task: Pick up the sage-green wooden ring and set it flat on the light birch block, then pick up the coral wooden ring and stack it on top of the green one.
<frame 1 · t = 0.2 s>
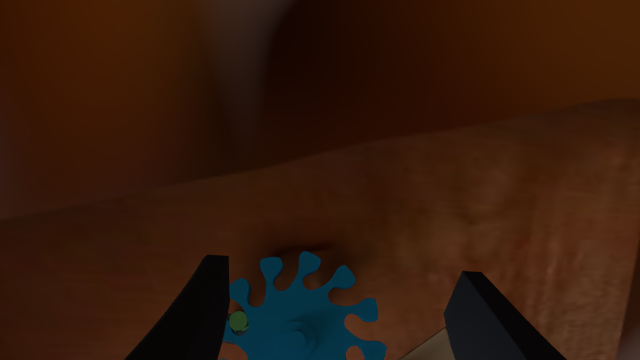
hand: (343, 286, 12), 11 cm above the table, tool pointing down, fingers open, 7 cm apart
gear: (289, 293, 25), on the table
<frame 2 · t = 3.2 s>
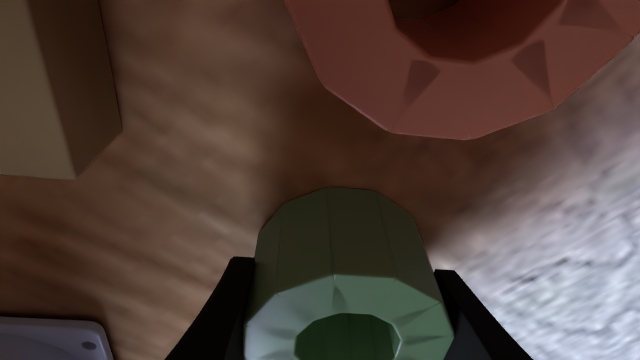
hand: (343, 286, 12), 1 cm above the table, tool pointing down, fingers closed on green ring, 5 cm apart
green ring: (339, 254, 13), on the table, touching gripper
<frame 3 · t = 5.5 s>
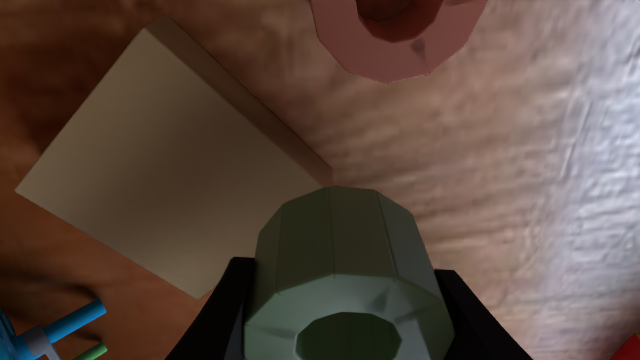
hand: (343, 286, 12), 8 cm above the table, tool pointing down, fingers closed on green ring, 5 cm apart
birch block: (191, 165, 19), on the table
gear: (54, 303, 25), on the table
green ring: (339, 253, 13), point 7 cm above the table, touching gripper
when the fingers open (4 cm above the table, at t = 8.1 s): green ring stays where it is, resting on birch block.
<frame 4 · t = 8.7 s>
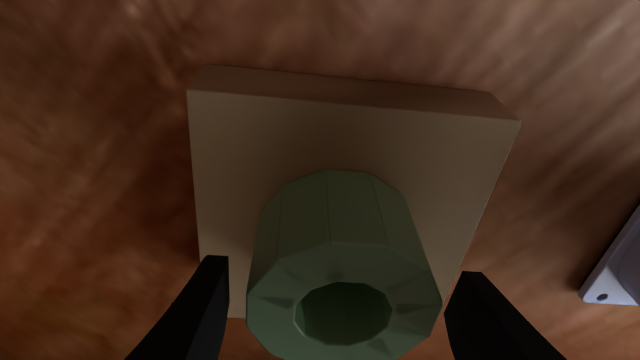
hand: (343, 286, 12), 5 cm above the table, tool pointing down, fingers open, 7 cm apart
birch block: (333, 195, 16), on the table
green ring: (335, 234, 14), point 2 cm above the table, touching birch block
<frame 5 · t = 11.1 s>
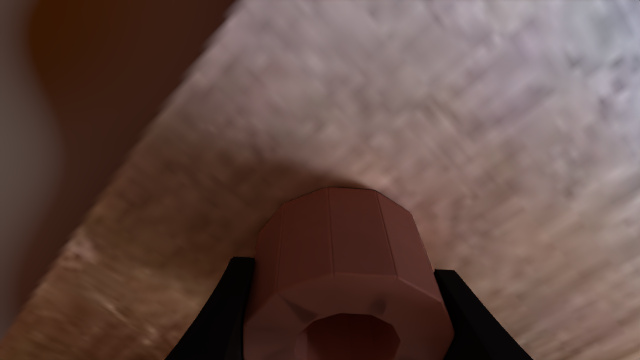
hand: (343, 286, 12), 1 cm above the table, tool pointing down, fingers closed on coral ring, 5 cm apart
coral ring: (339, 254, 13), on the table, touching gripper
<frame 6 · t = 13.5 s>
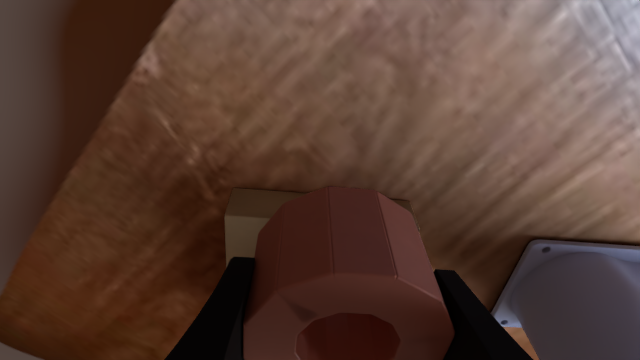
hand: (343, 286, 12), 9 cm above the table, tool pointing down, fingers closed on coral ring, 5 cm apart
coral ring: (339, 253, 13), point 8 cm above the table, touching gripper
birch block: (314, 258, 24), on the table
when the fingers open (7 cm above the table, at t = 16.1 s): coral ring stays where it is, resting on green ring.
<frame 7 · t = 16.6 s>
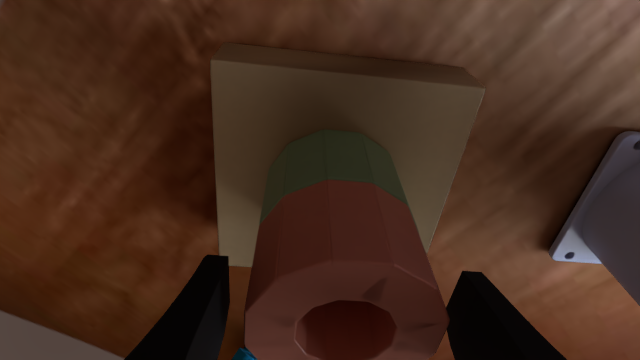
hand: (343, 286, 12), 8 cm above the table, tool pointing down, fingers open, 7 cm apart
coral ring: (337, 245, 13), point 6 cm above the table, touching green ring
birch block: (331, 159, 18), on the table
green ring: (332, 188, 16), point 2 cm above the table, touching birch block, coral ring
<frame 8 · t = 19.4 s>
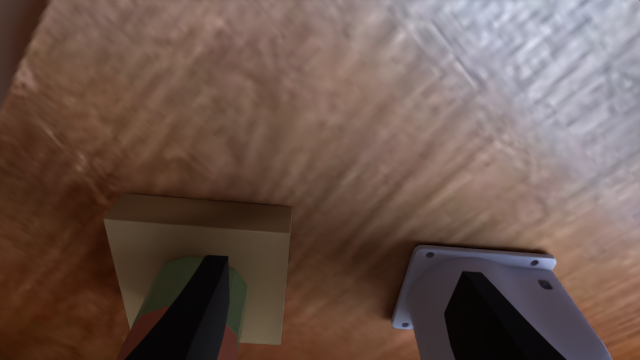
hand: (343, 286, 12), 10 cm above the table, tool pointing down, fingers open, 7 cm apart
coral ring: (185, 341, 20), point 6 cm above the table, touching green ring
birch block: (212, 261, 25), on the table
green ring: (202, 289, 23), point 2 cm above the table, touching birch block, coral ring
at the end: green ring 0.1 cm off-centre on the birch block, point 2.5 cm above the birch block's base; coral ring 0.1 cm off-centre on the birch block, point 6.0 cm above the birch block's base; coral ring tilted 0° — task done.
